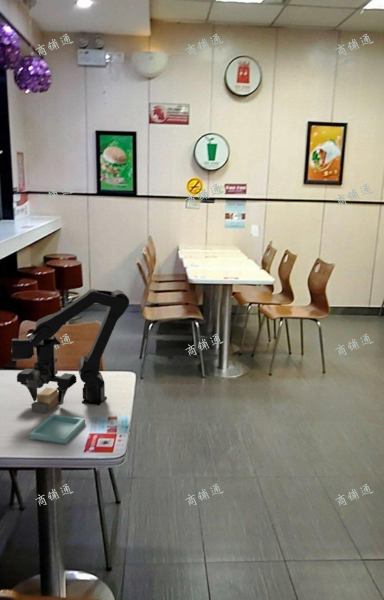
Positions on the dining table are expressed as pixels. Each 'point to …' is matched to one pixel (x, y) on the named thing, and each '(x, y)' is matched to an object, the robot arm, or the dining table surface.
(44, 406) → the pair of grey blocks
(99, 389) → the robot arm
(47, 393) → the wooden block
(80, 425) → the teal tray
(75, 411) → the dining table surface
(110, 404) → the dining table surface
